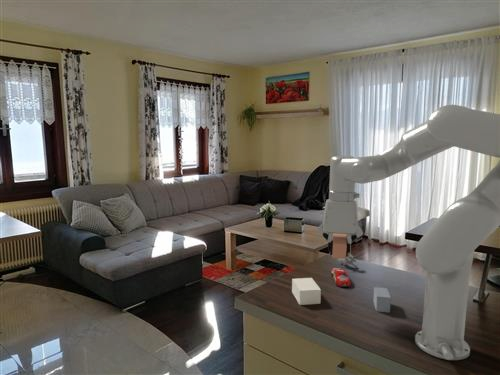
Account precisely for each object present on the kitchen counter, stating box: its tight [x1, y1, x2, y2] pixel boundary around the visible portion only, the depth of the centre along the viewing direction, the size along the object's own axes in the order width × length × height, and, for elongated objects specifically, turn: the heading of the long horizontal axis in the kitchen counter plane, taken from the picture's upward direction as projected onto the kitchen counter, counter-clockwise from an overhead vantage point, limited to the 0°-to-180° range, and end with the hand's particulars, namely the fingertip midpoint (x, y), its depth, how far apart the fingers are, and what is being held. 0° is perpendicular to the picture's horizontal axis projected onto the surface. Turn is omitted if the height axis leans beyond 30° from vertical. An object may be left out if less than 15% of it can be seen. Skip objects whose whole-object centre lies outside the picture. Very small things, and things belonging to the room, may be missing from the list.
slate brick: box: [372, 286, 392, 313], centre depth 116 cm, size 7×4×5 cm, turn 168°
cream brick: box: [291, 277, 322, 306], centre depth 123 cm, size 10×7×5 cm
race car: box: [331, 267, 352, 288], centre depth 137 cm, size 13×5×4 cm, turn 177°
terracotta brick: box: [331, 233, 347, 260], centre depth 114 cm, size 7×4×5 cm, turn 168°
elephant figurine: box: [337, 254, 359, 269], centre depth 151 cm, size 10×6×9 cm
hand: (338, 253), depth 114 cm, fingers closed on terracotta brick, 4 cm apart
